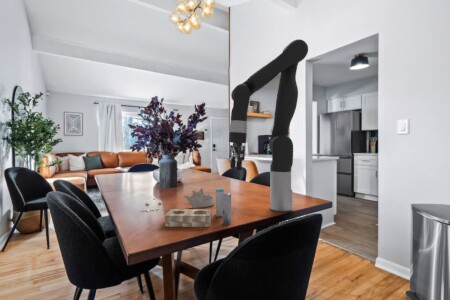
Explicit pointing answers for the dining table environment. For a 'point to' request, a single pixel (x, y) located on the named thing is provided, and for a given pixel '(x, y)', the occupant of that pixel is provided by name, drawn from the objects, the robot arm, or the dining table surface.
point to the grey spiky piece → (200, 199)
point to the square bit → (219, 201)
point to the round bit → (226, 208)
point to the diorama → (148, 205)
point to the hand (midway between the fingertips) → (235, 169)
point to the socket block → (188, 218)
